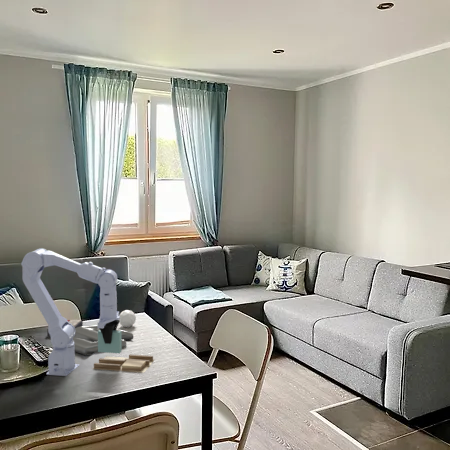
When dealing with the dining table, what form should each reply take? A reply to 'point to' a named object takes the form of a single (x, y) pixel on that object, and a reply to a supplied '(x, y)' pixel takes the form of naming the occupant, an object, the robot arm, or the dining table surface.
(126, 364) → the oak offcut
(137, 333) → the dining table surface
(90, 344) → the emblem
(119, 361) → the rack
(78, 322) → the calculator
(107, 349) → the teal panel
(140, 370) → the tan flat block
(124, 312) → the geometric ball
